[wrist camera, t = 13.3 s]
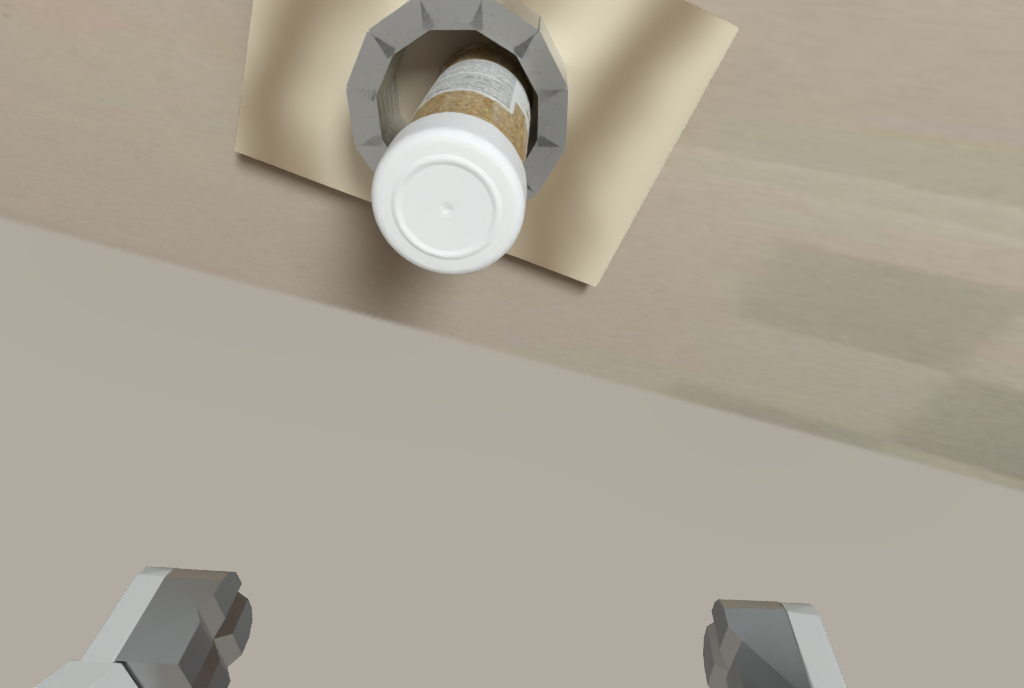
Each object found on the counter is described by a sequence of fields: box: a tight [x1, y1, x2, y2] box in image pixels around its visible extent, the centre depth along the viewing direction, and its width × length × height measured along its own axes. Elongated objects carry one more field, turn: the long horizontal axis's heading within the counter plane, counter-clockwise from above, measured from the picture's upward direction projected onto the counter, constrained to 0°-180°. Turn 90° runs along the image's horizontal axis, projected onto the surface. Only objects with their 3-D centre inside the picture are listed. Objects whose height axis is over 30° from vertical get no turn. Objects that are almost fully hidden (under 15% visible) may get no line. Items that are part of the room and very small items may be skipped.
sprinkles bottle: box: [371, 43, 533, 274], centre depth 23 cm, size 5×5×13 cm
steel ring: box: [346, 0, 568, 201], centre depth 27 cm, size 9×9×4 cm
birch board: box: [234, 0, 739, 287], centre depth 29 cm, size 20×14×1 cm
